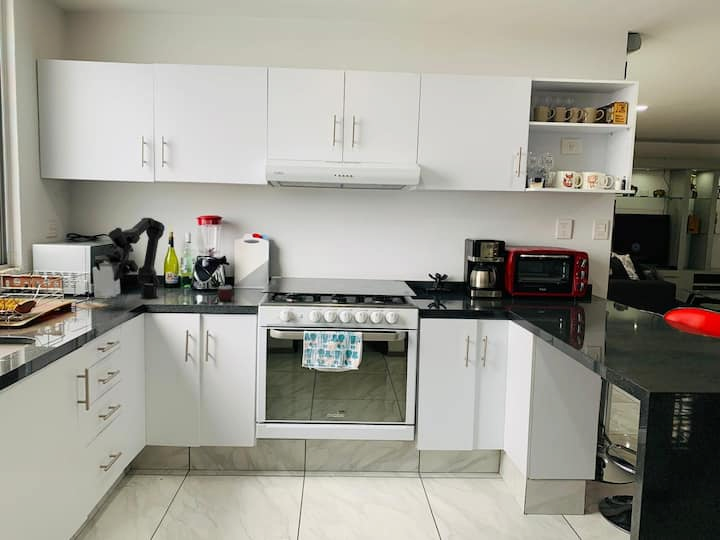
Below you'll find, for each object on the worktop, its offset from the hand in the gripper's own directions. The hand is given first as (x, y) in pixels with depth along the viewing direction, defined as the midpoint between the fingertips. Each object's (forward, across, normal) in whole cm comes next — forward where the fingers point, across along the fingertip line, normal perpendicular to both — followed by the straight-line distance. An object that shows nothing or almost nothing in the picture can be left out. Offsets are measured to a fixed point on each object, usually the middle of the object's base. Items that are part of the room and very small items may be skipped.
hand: (108, 280), depth 238 cm
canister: (+4, 0, +6) cm, 7 cm away
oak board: (+4, -14, +16) cm, 22 cm away
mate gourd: (-14, +40, +34) cm, 54 cm away
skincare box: (-12, -22, +32) cm, 41 cm away
